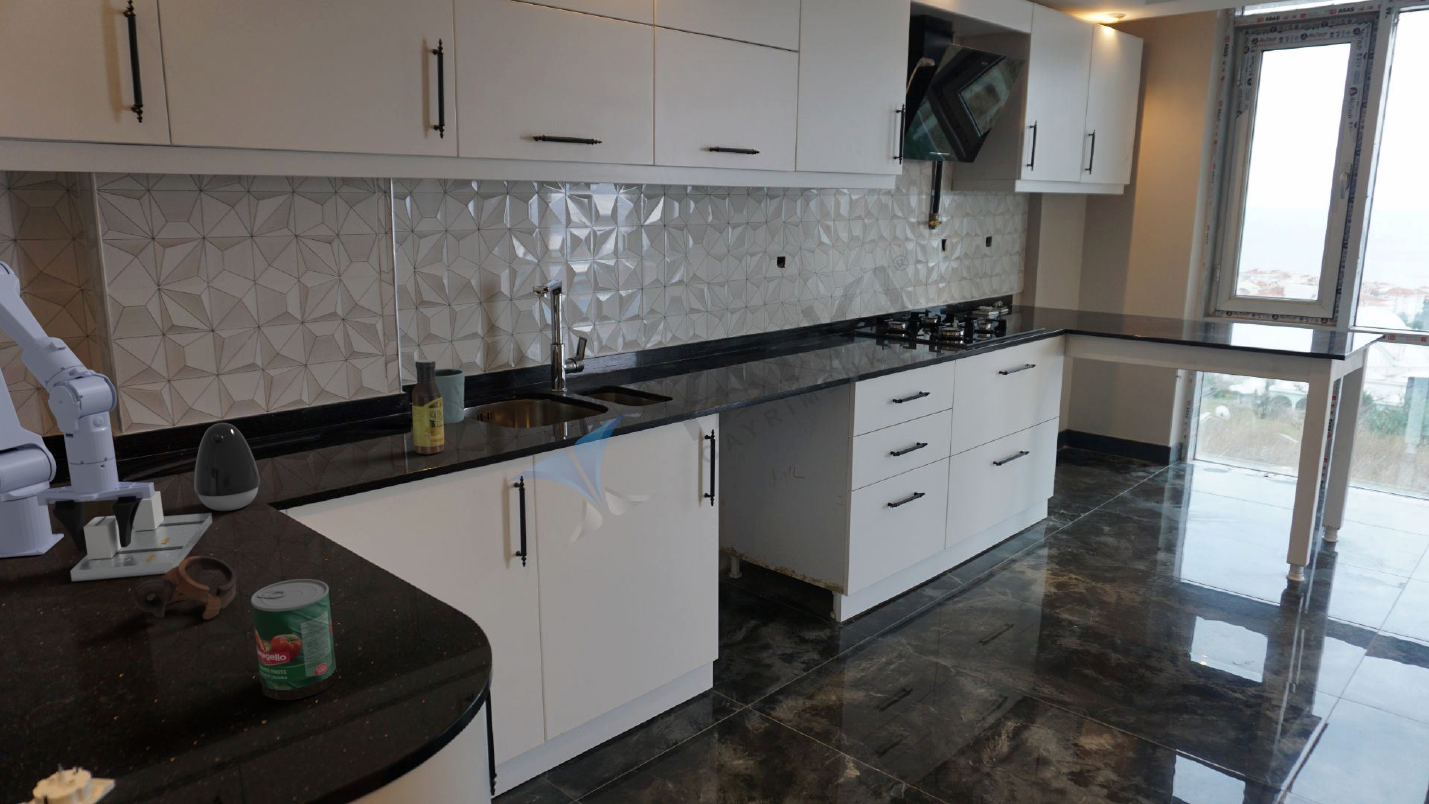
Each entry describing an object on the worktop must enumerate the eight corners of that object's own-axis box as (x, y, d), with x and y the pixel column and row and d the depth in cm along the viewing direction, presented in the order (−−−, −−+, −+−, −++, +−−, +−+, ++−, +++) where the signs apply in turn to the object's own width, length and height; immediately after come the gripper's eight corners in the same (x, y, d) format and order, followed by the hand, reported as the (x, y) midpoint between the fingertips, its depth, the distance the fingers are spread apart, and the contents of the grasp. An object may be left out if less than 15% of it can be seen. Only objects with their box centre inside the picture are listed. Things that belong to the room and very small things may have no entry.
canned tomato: (347, 665, 108) (339, 578, 106) (321, 701, 101) (312, 608, 98) (279, 666, 108) (269, 578, 106) (248, 702, 101) (237, 608, 98)
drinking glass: (472, 415, 231) (470, 368, 228) (457, 425, 221) (455, 376, 218) (434, 414, 232) (431, 367, 229) (417, 424, 222) (414, 375, 219)
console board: (71, 581, 131) (70, 570, 131) (125, 528, 152) (124, 518, 152) (173, 572, 134) (172, 561, 134) (212, 522, 155) (211, 512, 155)
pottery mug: (201, 593, 129) (224, 546, 127) (232, 638, 125) (256, 591, 123) (110, 603, 119) (133, 552, 117) (140, 653, 114) (165, 601, 112)
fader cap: (88, 559, 135) (83, 526, 134) (99, 548, 139) (94, 516, 138) (111, 557, 135) (106, 524, 134) (122, 546, 140) (117, 515, 138)
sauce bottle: (435, 456, 195) (430, 364, 191) (409, 454, 196) (402, 362, 192) (450, 448, 201) (445, 358, 197) (424, 446, 202) (418, 357, 198)
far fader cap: (134, 531, 146) (129, 500, 145) (143, 521, 150) (139, 491, 149) (155, 529, 147) (151, 499, 146) (163, 520, 151) (159, 490, 150)
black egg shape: (190, 518, 157) (179, 432, 153) (205, 499, 167) (195, 418, 163) (255, 513, 159) (246, 428, 156) (267, 495, 169) (258, 414, 166)
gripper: (21, 470, 128) (36, 561, 131) (138, 463, 132) (150, 552, 135) (43, 456, 135) (57, 543, 138) (154, 450, 139) (165, 535, 142)
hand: (104, 546), depth 137 cm, fingers open, 5 cm apart
